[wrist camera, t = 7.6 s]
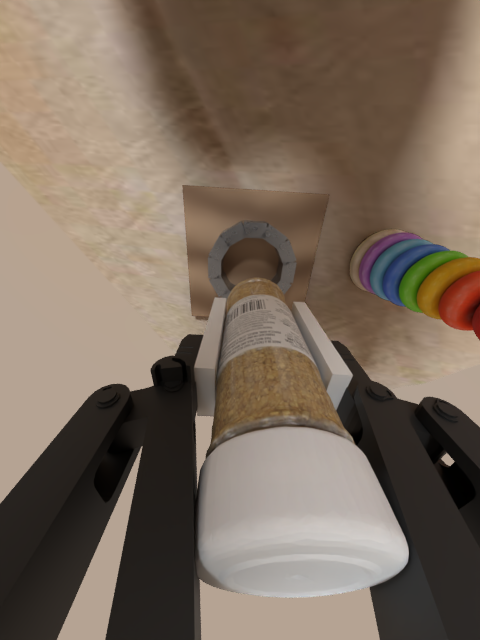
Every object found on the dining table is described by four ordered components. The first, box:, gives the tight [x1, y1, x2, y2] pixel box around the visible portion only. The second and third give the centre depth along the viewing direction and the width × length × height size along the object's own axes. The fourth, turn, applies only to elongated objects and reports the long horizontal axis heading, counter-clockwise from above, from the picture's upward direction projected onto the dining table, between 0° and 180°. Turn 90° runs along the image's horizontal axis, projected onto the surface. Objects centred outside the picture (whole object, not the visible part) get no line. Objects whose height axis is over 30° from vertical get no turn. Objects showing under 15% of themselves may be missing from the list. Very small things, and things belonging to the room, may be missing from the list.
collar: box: [208, 220, 297, 302], centre depth 25 cm, size 10×10×3 cm
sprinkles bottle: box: [195, 278, 409, 597], centre depth 10 cm, size 5×5×14 cm
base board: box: [183, 185, 329, 317], centre depth 26 cm, size 16×16×2 cm
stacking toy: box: [350, 229, 480, 340], centre depth 19 cm, size 8×8×19 cm
